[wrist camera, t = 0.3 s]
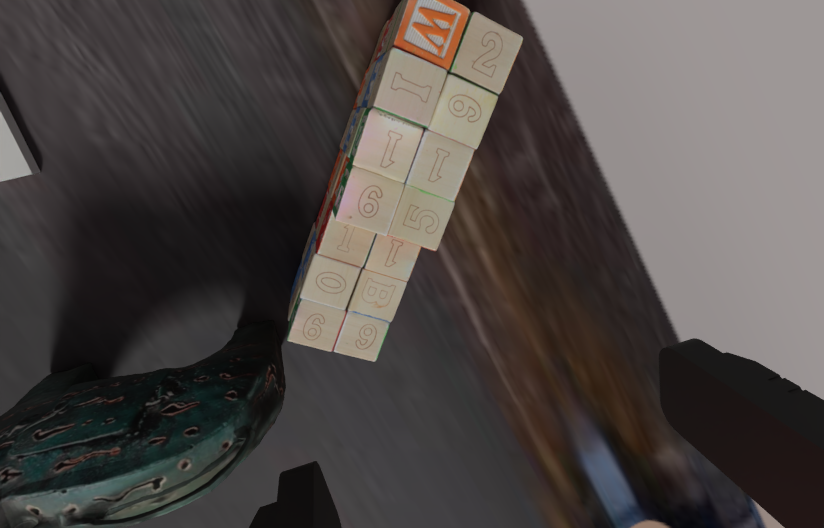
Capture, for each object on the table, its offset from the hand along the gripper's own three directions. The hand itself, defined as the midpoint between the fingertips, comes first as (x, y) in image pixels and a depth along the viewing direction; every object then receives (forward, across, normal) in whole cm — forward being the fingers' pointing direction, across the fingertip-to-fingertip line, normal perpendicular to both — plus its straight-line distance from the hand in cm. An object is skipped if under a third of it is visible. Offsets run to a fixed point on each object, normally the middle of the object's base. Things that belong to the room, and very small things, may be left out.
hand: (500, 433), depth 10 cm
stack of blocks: (+29, -1, -1) cm, 29 cm away
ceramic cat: (+28, +19, +8) cm, 35 cm away
